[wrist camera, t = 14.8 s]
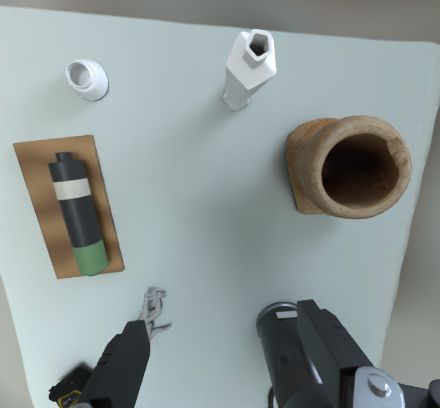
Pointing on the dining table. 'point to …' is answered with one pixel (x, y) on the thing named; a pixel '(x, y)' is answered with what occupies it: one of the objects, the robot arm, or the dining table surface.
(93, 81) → the white jar
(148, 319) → the soldier figure
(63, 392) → the tape measure
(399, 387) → the robot arm
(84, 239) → the marker
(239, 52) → the perfume bottle
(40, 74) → the dining table surface
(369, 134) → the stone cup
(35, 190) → the wooden board
